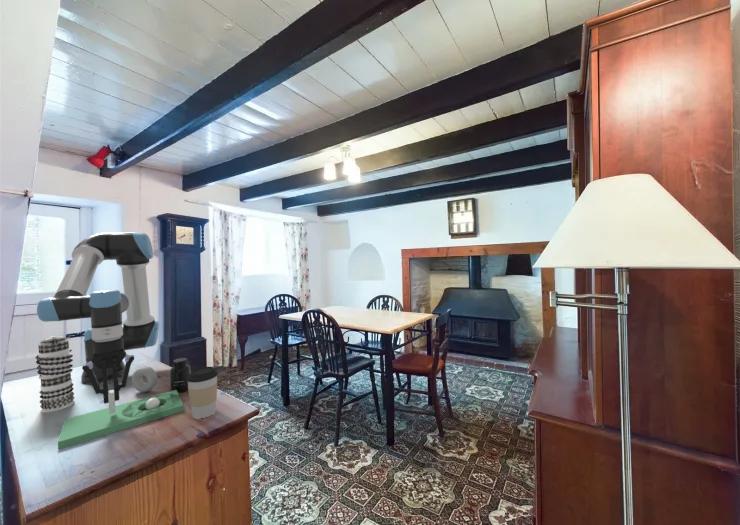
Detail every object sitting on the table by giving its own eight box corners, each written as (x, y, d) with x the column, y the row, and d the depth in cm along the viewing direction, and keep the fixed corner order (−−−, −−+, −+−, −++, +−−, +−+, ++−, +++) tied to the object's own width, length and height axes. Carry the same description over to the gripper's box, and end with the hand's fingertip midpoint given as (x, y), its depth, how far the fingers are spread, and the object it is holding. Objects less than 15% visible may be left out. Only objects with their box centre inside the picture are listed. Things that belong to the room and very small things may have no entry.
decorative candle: (39, 407, 110) (34, 338, 109) (74, 397, 116) (70, 332, 116) (38, 416, 103) (33, 343, 102) (76, 405, 110) (72, 336, 109)
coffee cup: (187, 424, 95) (185, 376, 95) (189, 411, 103) (187, 367, 103) (219, 416, 99) (217, 370, 99) (219, 404, 107) (217, 362, 107)
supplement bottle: (176, 395, 116) (174, 364, 115) (167, 391, 119) (165, 361, 119) (194, 388, 121) (193, 358, 121) (185, 384, 125) (184, 355, 125)
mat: (66, 425, 97) (65, 419, 97) (176, 394, 116) (176, 389, 116) (58, 449, 85) (57, 442, 84) (183, 410, 104) (183, 405, 103)
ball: (144, 398, 105) (158, 393, 107) (146, 409, 105) (160, 404, 108) (144, 403, 102) (158, 398, 104) (146, 414, 102) (161, 409, 104)
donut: (160, 390, 121) (159, 365, 120) (153, 394, 117) (152, 368, 117) (137, 389, 122) (136, 365, 121) (129, 393, 118) (128, 368, 118)
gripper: (78, 345, 90) (83, 424, 91) (134, 336, 98) (138, 408, 99) (80, 340, 96) (85, 414, 97) (133, 332, 104) (137, 400, 105)
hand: (112, 411), depth 98 cm, fingers closed
